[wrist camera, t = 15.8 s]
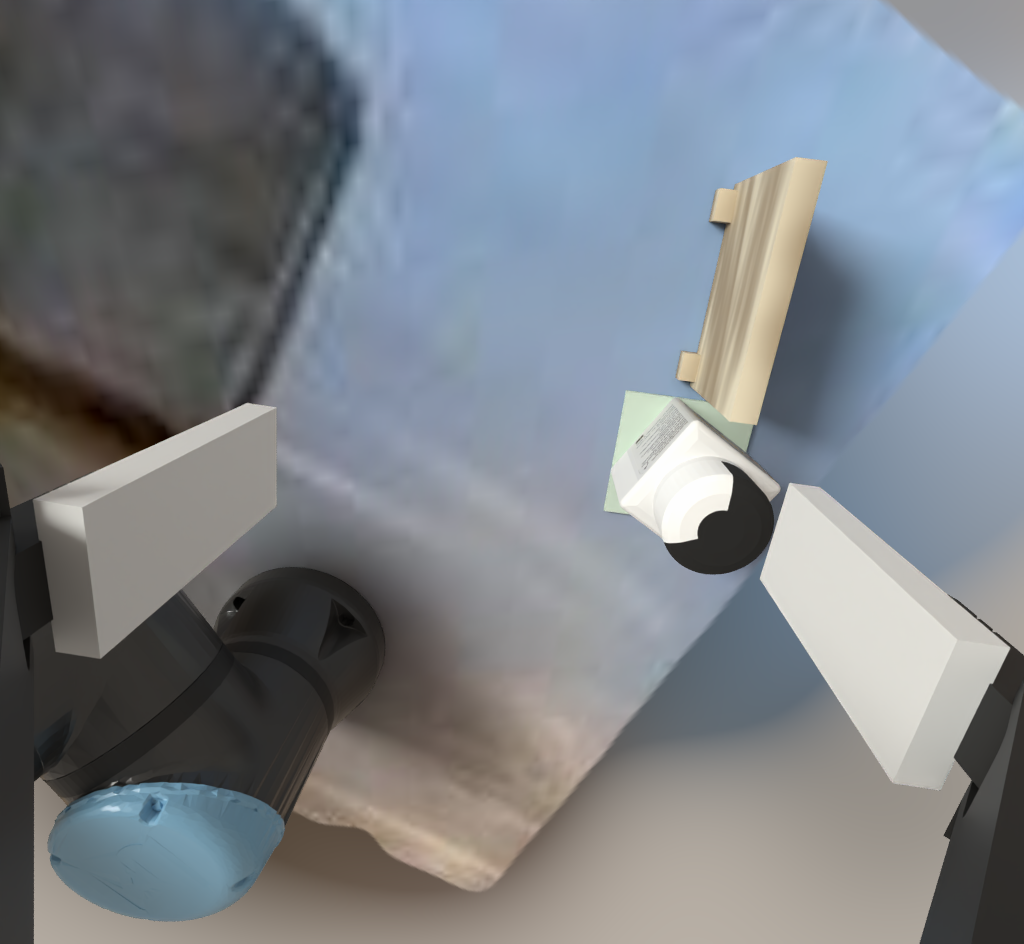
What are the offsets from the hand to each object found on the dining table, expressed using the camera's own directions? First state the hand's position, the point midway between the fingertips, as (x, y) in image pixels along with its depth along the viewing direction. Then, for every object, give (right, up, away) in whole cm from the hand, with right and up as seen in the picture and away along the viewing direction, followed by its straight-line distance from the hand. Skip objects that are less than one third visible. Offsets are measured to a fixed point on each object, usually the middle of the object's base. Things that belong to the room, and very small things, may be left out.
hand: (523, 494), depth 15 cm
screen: (+15, +14, +28) cm, 34 cm away
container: (+13, +1, +32) cm, 35 cm away
